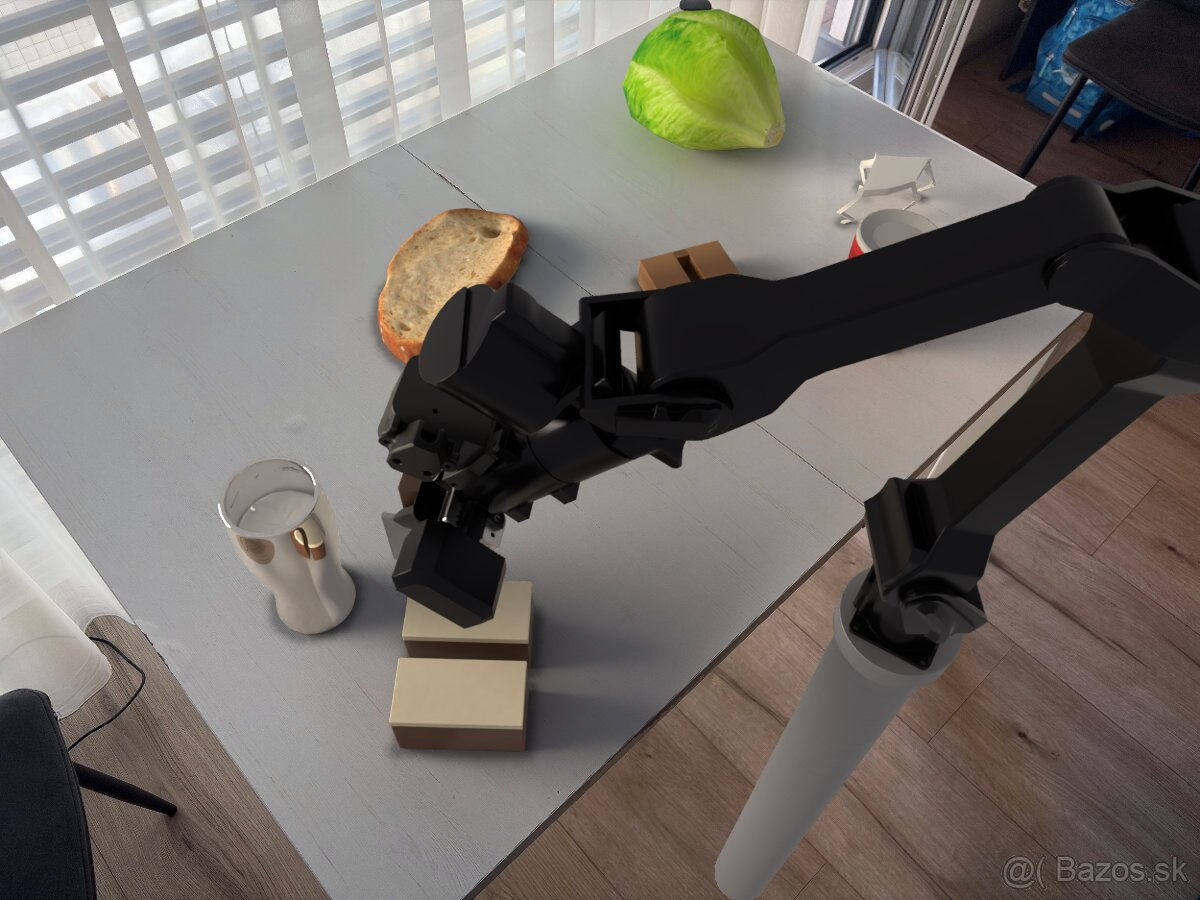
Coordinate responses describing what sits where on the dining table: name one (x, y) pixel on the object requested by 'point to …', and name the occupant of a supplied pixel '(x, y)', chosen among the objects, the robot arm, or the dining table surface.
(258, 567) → the beer glass
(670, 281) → the cardboard box
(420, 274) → the slice of bread
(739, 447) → the dining table surface
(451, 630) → the beige twin blocks
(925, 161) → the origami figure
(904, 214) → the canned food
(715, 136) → the lettuce
